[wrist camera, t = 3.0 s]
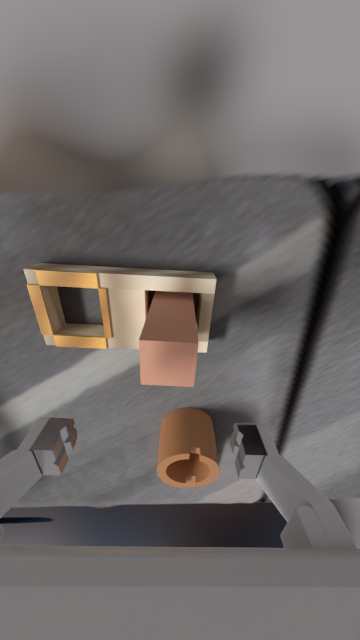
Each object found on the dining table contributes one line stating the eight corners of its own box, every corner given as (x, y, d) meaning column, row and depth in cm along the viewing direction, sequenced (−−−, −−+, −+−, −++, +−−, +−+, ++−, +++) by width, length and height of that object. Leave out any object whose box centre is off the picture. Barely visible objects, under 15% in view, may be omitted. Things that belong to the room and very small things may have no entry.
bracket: (161, 405, 31) (156, 452, 25) (215, 407, 32) (224, 455, 25) (160, 469, 40) (156, 516, 34) (203, 471, 40) (207, 518, 34)
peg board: (213, 272, 22) (216, 279, 19) (204, 340, 26) (206, 353, 23) (39, 263, 21) (21, 269, 19) (58, 333, 25) (45, 345, 23)
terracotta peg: (192, 291, 23) (198, 343, 14) (189, 323, 25) (193, 386, 16) (156, 289, 23) (138, 340, 14) (156, 321, 24) (140, 384, 16)
